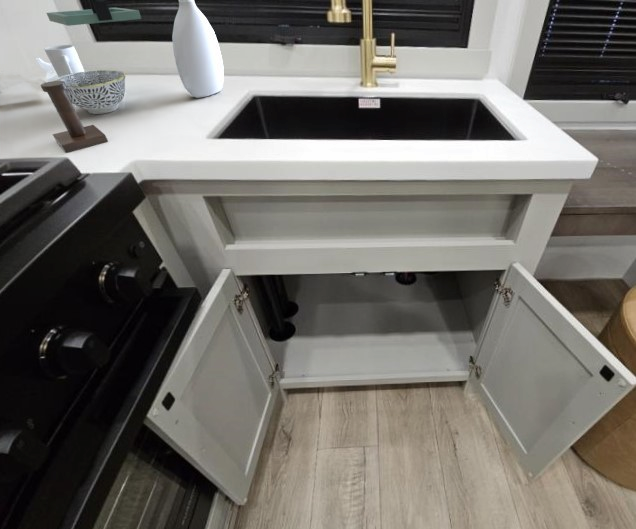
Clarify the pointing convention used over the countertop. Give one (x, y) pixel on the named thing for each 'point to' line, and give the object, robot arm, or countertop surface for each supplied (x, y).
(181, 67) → the soap bottle
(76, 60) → the mug
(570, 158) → the countertop surface
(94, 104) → the bowl
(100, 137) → the peg stand
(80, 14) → the frame
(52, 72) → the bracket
